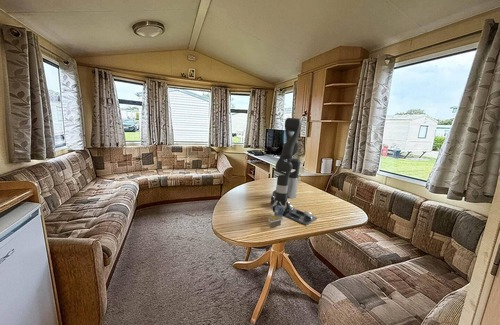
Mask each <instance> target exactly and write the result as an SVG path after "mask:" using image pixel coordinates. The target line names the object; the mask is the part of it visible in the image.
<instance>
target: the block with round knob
mask: <svg viewBox="0 0 500 325" xmlns="http://www.w3.org/2000/svg"><path fill="white" fill-rule="evenodd" d="M283 211H284V210H283V208H282V207H281V206H276V207H275V212H273V213H274V214H273V216H274V217H275V216H276V215H278V216H280V217H282V218H284V216H283ZM278 216H277V217H278Z"/></svg>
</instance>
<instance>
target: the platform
mask: <svg viewBox="0 0 500 325" xmlns="http://www.w3.org/2000/svg"><path fill="white" fill-rule="evenodd" d="M277 216H278V215H276V216H275V217H274V215H272V216H270V217H269V218H268V222H269V223H270V228H274V227H278V226H281V223H282V220H284V217H280V216H278V217H277Z"/></svg>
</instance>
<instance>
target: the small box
mask: <svg viewBox="0 0 500 325" xmlns="http://www.w3.org/2000/svg"><path fill="white" fill-rule="evenodd" d="M275 193H276V189H275V190H274V191H273V192H272V195H271V197H273V196H275ZM287 196H288V193H287ZM275 202H276V201H274V203H275ZM286 202H288V197H287V198H286ZM285 204H286V203H285ZM276 206H279V205H276ZM283 206H284V205H283Z"/></svg>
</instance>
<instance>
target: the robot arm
mask: <svg viewBox="0 0 500 325" xmlns="http://www.w3.org/2000/svg"><path fill="white" fill-rule="evenodd" d="M302 124H303V123H302V119H301V118H296V117H287V118H286V119H285V121H284V132H285V139H286V140H285V143H284V145H283V147H282V150H281V154H280V157H279V158H278V160H277V162H276V163H275V169H276V171H277V172H280V173H284V174H279V175H277V179H276V187H275V190H276V193H275V196H273V197H272V196H271V198H270V206H272V213H275V207H276V205H279V206H281V207H282V208H283V210H284V211H283V217H286V213H287V211H289V210H290V205H291V202H290V201H287V202H286V198H287V199H288V198H291V199H294V198H296V197H297V191H298V182H299V174H300V173H299V172H300V167H301V159H300V158H296V157H294V155H296V154H297V153H298V151H299V147H300V145H299V141H298V138H299V135H300V133H301V129H302ZM293 157H294V158H293ZM292 170H294V171H292ZM287 193H288V196H287ZM274 201H276V202H275V203H274ZM285 203H286V204H285ZM283 205H284V206H283Z"/></svg>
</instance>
